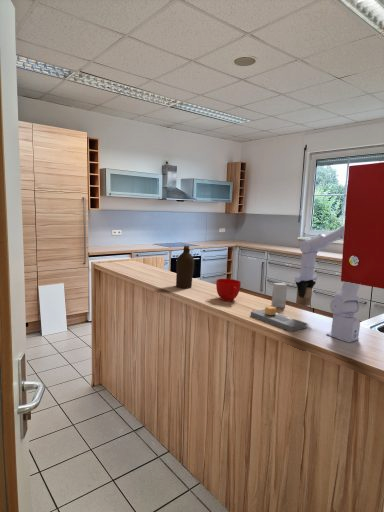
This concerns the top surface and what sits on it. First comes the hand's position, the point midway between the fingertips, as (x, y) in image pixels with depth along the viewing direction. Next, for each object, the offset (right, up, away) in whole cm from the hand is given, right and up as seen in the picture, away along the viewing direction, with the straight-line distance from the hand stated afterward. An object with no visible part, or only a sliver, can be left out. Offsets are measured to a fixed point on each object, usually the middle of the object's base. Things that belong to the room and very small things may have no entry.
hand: (303, 296), depth 150 cm
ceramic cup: (-32, -5, +25) cm, 41 cm away
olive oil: (-56, 0, +50) cm, 75 cm away
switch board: (-14, -10, -6) cm, 18 cm away
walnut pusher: (0, -4, +1) cm, 4 cm away
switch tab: (-16, -7, -3) cm, 18 cm away
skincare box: (-7, -8, +19) cm, 22 cm away
